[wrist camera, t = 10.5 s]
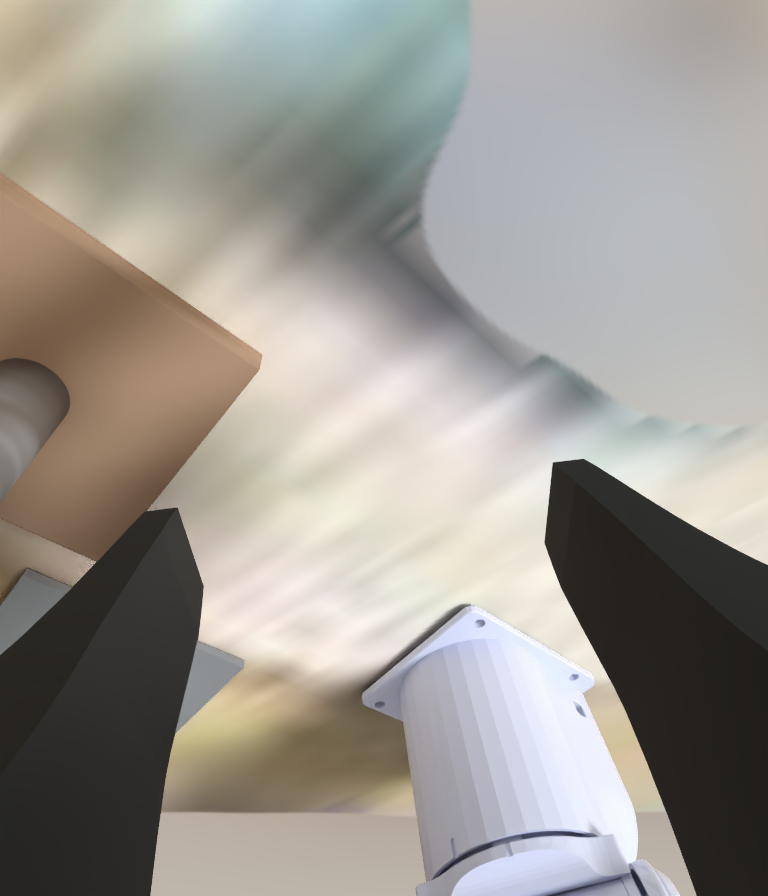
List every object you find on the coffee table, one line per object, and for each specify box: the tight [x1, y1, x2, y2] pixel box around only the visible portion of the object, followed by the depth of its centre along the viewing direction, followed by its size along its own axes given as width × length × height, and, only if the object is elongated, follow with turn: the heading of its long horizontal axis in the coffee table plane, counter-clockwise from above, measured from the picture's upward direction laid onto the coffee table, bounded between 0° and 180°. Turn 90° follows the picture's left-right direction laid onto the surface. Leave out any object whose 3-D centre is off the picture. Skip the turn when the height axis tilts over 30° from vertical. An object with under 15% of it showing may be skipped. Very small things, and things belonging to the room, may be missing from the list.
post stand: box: [0, 173, 262, 561], centre depth 16 cm, size 10×10×6 cm
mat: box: [0, 568, 244, 733], centre depth 26 cm, size 10×10×1 cm
